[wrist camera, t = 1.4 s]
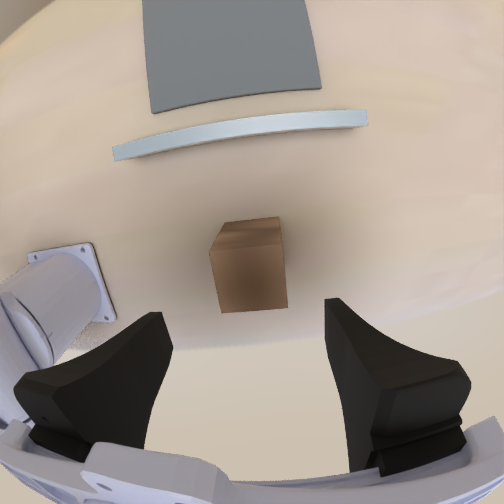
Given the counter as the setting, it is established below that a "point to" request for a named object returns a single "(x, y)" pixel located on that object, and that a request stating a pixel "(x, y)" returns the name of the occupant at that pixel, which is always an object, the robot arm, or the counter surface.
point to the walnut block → (249, 266)
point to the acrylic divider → (241, 130)
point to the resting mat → (226, 50)
